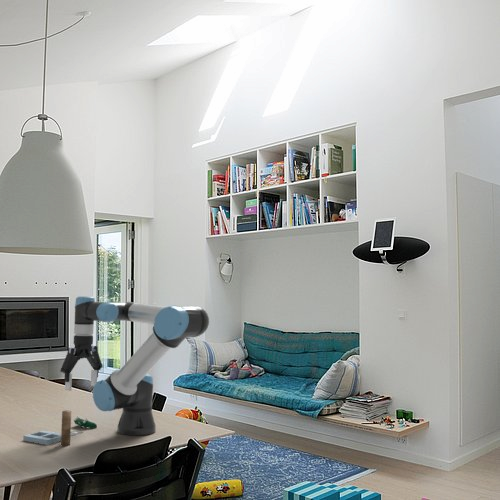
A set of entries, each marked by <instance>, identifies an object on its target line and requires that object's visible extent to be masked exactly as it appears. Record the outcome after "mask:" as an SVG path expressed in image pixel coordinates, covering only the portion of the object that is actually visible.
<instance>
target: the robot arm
mask: <svg viewBox="0 0 500 500" xmlns="http://www.w3.org/2000/svg"><path fill="white" fill-rule="evenodd" d="M95 299H96V298H95V297H94V296H77V297H76V298H75V303H74V304H75V305H74V328H73V334H74V336H73V344H74V347H68V349H67V352H66V356H65V358H64V361H63V363H62V365H61V368H60V370H59V371H60V373H63V374H64V385H65V386H64V390H65V391H69V392H70V391H72V387H73V386H72V382H73V381H72V380H73V373H72V372H73V369H74V368H75V366H76V365H77V363H78V361H80V360H81V359H87V361H88V363H89V365H90V366H91V368H92V369H91V371H90V386H91V387H93V389H92V399H93V402H94V405H95V407H97V409H98V410H99V411H101V412H112V411H115V410H116V411H117V410H121V409H122V412H121V415H120V418H119V421H118V424H117V427H116V429H117V431H116V432H117V433H118V434H121V435H125V436H146V435H147V436H148V435H151V434H154V433H156V429H157V428H156V427H157V426H156V422H155V418H154V415H153V394H154V390H153V389H154V377H153V376H152V374H148V373H149V372H150V371H152V369H153V368H154V367H155V366H156V365H157V364H158V363H159V362H160V361H161V359H162V358H163V357H164V356H165V355H166V354H167V352H169V351H170V349H177V348H178V347H179V346H180V345H181V344H182V343H183V342H184V341H185V340H186V339H187V338H197V337H200V336H202V335H203V334H204V333H205V332H206V331H207V330H208V327H209V325H210V317H209V314H208V312H207V311H206V310H204V308H203V307H200V306H197V305H169V306H163V305H161V306H160V305H153V304H145V303H144V304H143V303H136V302H132V301H120V302H119V301H118V302H117V301H115V302H114V301H110V302H109V301H103V302H101V301H99V302H98V301H95ZM95 321H96V322H103V323H110V322H118V321H124V322H134V323H142V324H147V325H148V324H149V325H153V326H152V333H151V335H150V336H149V337H148V338H147V339H146V340H145V341H144V343H142V344H141V346H140V347H139V348H138V349H137V350H136V351H135V353H133V354H132V356H131V357H130V358H129V359H128V360H127V361H126V362H125V364H124V365H122V367H121V368H120V369H115V370H113V371H112V372H111V373H110V374H109V376H108V377H107V378H106V379H101V380H99V381H98V377H99V371H101V369H102V368H103V363H102V361H101V357H100V354H99V351H98V345H94V335H93V334H94V324H95Z"/></svg>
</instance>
